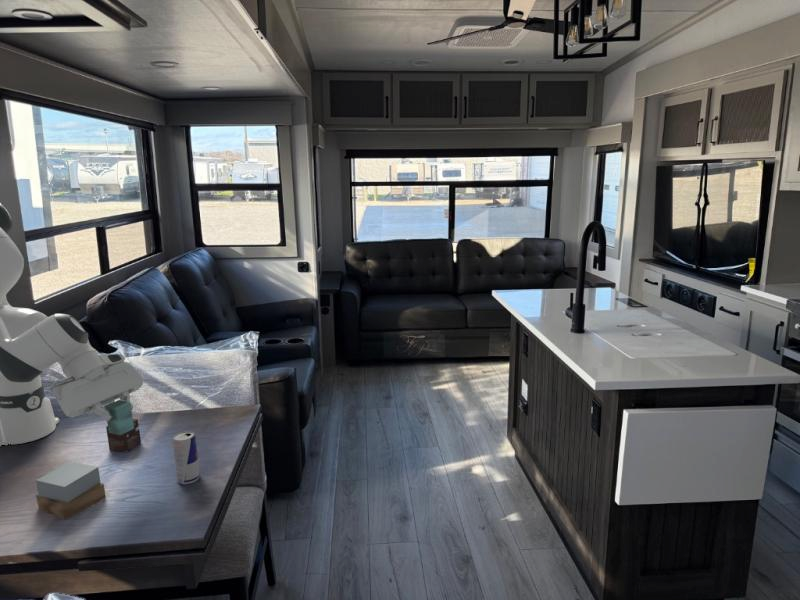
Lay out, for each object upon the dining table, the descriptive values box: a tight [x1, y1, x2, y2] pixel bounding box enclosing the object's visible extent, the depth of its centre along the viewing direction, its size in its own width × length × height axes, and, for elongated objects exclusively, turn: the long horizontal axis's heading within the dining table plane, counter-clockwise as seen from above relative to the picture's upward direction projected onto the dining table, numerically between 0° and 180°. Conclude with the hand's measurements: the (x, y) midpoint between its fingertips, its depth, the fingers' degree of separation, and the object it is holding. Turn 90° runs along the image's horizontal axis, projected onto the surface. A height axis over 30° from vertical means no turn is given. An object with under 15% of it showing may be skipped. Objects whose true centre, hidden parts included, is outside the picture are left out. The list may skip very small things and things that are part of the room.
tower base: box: [35, 482, 107, 521], centre depth 133 cm, size 10×10×4 cm
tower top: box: [35, 460, 101, 503], centre depth 132 cm, size 9×9×4 cm
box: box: [105, 418, 142, 453], centre depth 159 cm, size 6×6×7 cm
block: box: [104, 399, 134, 435], centre depth 138 cm, size 4×4×7 cm
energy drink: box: [172, 430, 201, 485], centre depth 141 cm, size 5×5×12 cm
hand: (120, 414), depth 138 cm, fingers closed on block, 4 cm apart
